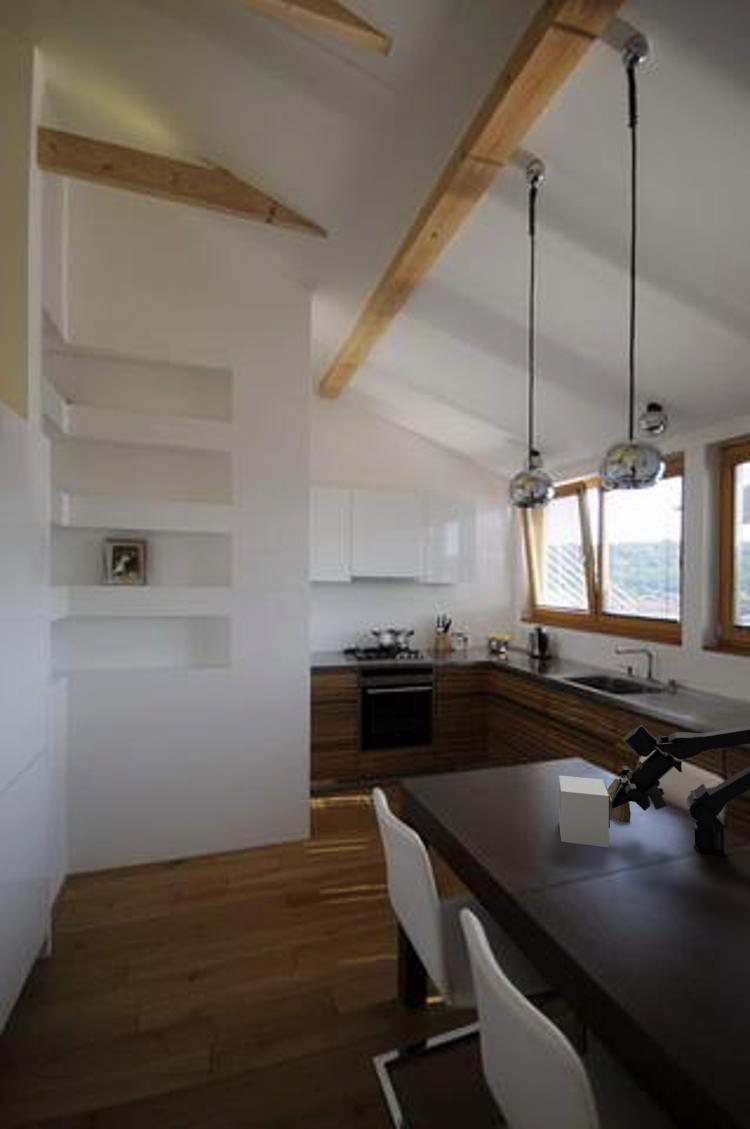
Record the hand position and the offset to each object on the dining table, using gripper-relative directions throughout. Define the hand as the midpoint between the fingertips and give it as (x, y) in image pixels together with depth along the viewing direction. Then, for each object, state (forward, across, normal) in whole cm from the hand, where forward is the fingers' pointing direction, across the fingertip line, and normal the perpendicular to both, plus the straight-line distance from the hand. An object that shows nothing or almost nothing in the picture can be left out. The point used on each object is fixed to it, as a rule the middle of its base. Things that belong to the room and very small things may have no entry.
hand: (611, 806), depth 159 cm
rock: (+4, +15, -7) cm, 17 cm away
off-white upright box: (+11, -2, +1) cm, 11 cm away
